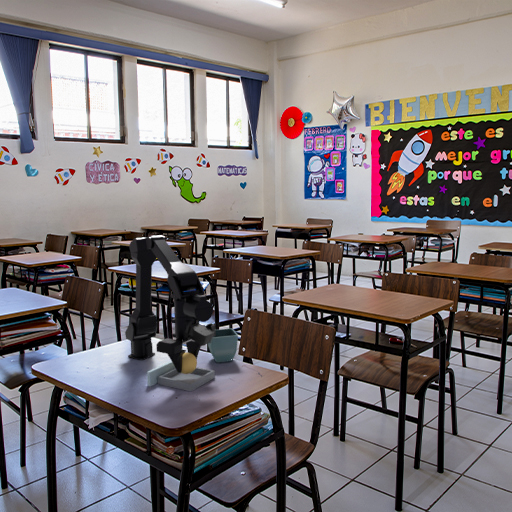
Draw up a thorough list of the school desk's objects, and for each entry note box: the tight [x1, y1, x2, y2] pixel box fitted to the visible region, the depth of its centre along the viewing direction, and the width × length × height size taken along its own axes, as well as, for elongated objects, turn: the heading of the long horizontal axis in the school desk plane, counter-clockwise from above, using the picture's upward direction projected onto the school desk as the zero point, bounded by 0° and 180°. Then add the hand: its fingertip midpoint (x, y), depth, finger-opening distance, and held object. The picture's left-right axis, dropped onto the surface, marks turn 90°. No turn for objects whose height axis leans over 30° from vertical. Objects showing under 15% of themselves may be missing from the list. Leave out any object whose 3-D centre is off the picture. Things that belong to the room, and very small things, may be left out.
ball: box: [181, 351, 198, 374], centre depth 140 cm, size 6×6×6 cm
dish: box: [157, 366, 216, 392], centre depth 140 cm, size 11×11×2 cm
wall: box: [146, 360, 175, 387], centre depth 143 cm, size 1×14×4 cm, turn 150°
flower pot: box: [207, 328, 239, 364], centre depth 158 cm, size 9×9×9 cm
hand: (186, 368), depth 140 cm, fingers closed on ball, 6 cm apart
